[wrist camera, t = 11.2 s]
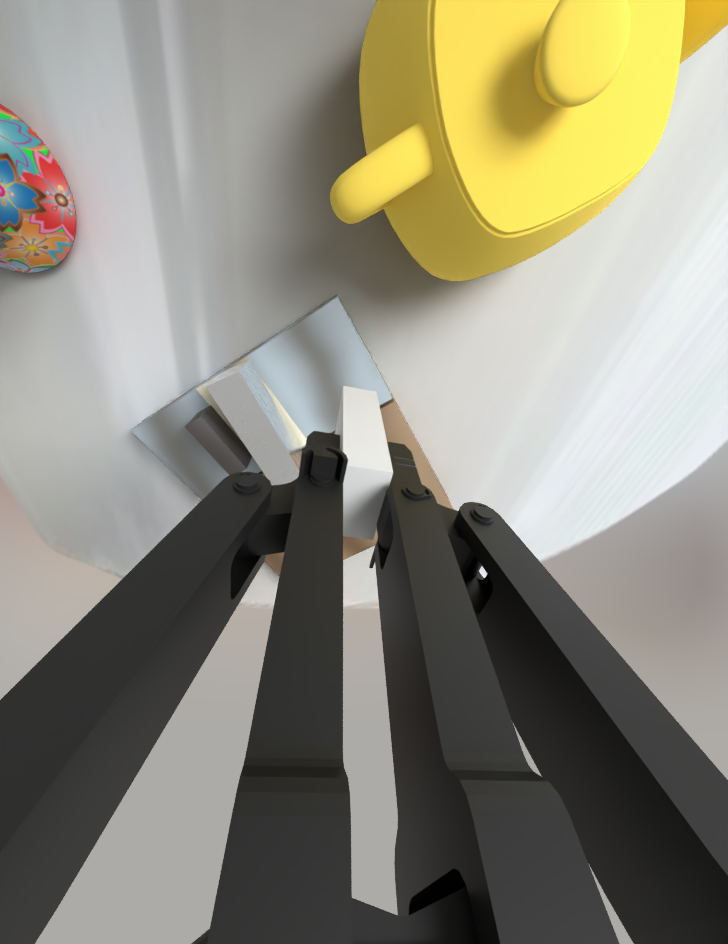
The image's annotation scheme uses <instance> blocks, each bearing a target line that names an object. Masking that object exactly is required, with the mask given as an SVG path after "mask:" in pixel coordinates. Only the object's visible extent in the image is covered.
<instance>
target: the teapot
mask: <svg viewBox="0 0 728 944" xmlns="http://www.w3.org/2000/svg"><path fill="white" fill-rule="evenodd" d="M727 24H728V0H377V2H376V5H375V7H374V10H373V12H372V15H371V17H370V20H369V22H368V25H367V29H366V33H365V37H364V41H363V45H362V51H361V60H360V72H359V93H360V111H361V121H362V130H363V136H364V143H365V149H366V154H367V156H365V157H364V158H362V159H361V160H359V161H358V162H357V163H355V164H354V165H353V166H351V167H350V168H349V169H347V170H346V171H345V172H344V173H342V174H341V175H340V176H339V177H338V179H337V180H336V181H335V183H334V184H333V186H332V189H331V193H330V201H331V205H332V208H333V211H334V212H335V214H336V216H337V217H338V218H339V219H340V220H341V221H343V222H345V223H348V224H354V223H358V222H360V221H362V220H364V219H366V218H368V217H370V216H372V215H374V214H375V213H377V212H379V211H381V210H383V209H384V211H385V213H386V215H387V217H388V219H389V221H390V223H391V225H392V227H393V229H394V231H395V232H396V234H397V235H398V237H399V239H400V240H401V242H402V243H403V245H404V246H405V247H406V249H407V250H408V252H409V253H410V254H411V256H412V257H413V258H414V259H415V260H416V261H417V262H418V263H419V264H420V266H421V267H422V268H424V269H425V270H426V271H427V272H429V273H430V274H431V275H433V276H436V277H438V278H440V279H444V280H449V281H468V280H471V279H475V278H478V277H481V276H485V275H488V274H491V273H494V272H497V271H500V270H503V269H505V268H508V267H511V266H513V265H515V264H517V263H520V262H522V261H524V260H526V259H528V258H531V257H533V256H535V255H537V254H538V253H540V252H542V251H544V250H546V249H547V248H549V247H551V246H553V245H554V244H556V243H557V242H559V241H560V240H562V239H563V238H565V237H567V236H568V235H570V234H571V233H573V232H574V231H576V230H577V229H579V228H580V227H581V226H583V225H584V224H586V223H587V222H588V221H590V220H591V219H593V218H594V217H595V216H597V215H598V214H599V213H601V212H602V211H603V210H604V209H605V208H606V207H607V206H608V205H609V204H610V203H611V202H612V201H613V200H614V199H615V198H616V197H617V196H618V195H619V194H620V193H621V192H622V191H623V190H624V189H625V188H626V187H627V186H628V185H629V184H630V183H631V182H632V181H633V179H634V178H635V177H636V176H637V175H638V173H639V172H640V171H641V169H642V168H643V166H644V165H645V164H646V162H647V161H648V160H649V158H650V157H651V155H652V154H653V152H654V150H655V148H656V147H657V145H658V143H659V141H660V139H661V136H662V134H663V131H664V129H665V126H666V124H667V120H668V117H669V113H670V109H671V106H672V102H673V97H674V92H675V87H676V82H677V77H678V70H679V64H680V63H681V62H683V61H684V60H685V59H687V58H688V57H690V56H691V55H692V54H693V53H694V52H696V51H697V50H698V49H699V48H701V47H702V46H703V45H704V44H706V43H707V42H708V41H709V40H710V39H711V38H712V37H714V36H715V35H716V34H717V33H718V32H719V31H721V30H722V29H723V28H724V27H725V26H726V25H727Z"/></svg>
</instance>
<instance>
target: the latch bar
mask: <svg viewBox="0 0 728 944" xmlns="http://www.w3.org/2000/svg"><path fill="white" fill-rule="evenodd" d="M206 388H207V390H208V391H209V393H210V394H211V396H212V397H213V399H214V400H215V402H216V403H217V405H218V406H219V407H220V409H221V410H222V412H223V413H224V415H225V416H226V418H227V419H228V421H229V422H230V424H231V425H232V427H233V428H234V430H235V431H236V433H237V434H238V436H239V437H240V439H241V440H242V442H243V443H244V445H245V446H246V448H247V449H248V451H249V452H250V454H251V455H252V457H253V458H254V460H255V461H256V462H257V464H258V465H259V467H260V468H261V470H262V471H263V473H264V474H265V476H266V477H267V479H268V480H270V482H271V485H281V484H286V483H289V482H292V481H294V480H295V479H297V478H298V476H299V469H300V462H301V454H302V449H301V448H300V446H299V444H298V443H297V441H296V439H295V437H294V436H293V434H292V432H291V430H290V429H289V427H288V425H287V424H286V422H285V420H284V418H283V417H282V415H281V413H280V411H279V410H278V408H277V406H276V405H275V403H274V401H273V399H272V398H271V396H270V394H269V392H268V391H267V389H266V387H265V386H264V384H263V382H262V380H261V379H260V377H259V375H258V373H257V372H256V370H255V368H254V367H253V365H252V363H251V361H250V360H247V361H245V362H243V363H241V364H239V365H236V366H234V367H232V368H230V369H228V370H226V371H223V372H221V373H219V374H218V375H217V376H216V377H215V378H214V379H213V380H212V381H211V382H210V383H209V384H208V385H207V386H206Z"/></svg>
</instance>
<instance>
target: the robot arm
mask: <svg viewBox="0 0 728 944" xmlns="http://www.w3.org/2000/svg"><path fill="white" fill-rule="evenodd" d="M376 529H377V534H378V539H377V542H376V546H375V549H374V552H373V555H372V559H371V562H370V567H369V568H373V565H374V563H375V564H376V575H377V586H378V597H379V608H380V619H381V630H382V641H383V653H384V663H385V674H386V686H387V697H388V706H389V707H388V708H389V719H390V730H391V741H392V752H393V763H394V774H395V786H396V796H397V807H398V830H397V838H396V845H395V883H396V895H397V908H398V915H394V914H392V913H389V912H387V911H384V910H382V909H379V908H377V907H374V906H371V905H369V904H366V903H364V902H361V901H358V900H356V899H353V898H352V896H351V816H350V815H351V813H350V792H349V785H348V777H347V775H346V772H345V769H344V764H343V536H345V537H353V538H361V539H370V540H373V539H374V536H375V532H376ZM282 552H284V556H283V562H282V567H281V572H280V578H279V583H278V588H277V593H276V599H275V604H274V609H273V615H272V620H271V625H270V630H269V636H268V641H267V646H266V652H265V657H264V663H263V667H262V673H261V679H260V683H259V688H258V694H257V699H256V704H255V710H254V715H253V720H252V726H251V731H250V736H249V742H248V747H247V752H246V757H245V761H244V766H243V769H242V772H241V776H240V780H239V784H238V788H237V793H236V798H235V803H234V808H233V813H232V818H231V823H230V828H229V834H228V839H227V844H226V849H225V854H224V859H223V864H222V870H221V875H220V880H219V885H218V890H217V895H216V900H215V905H214V911H213V916H212V921H211V926H210V929H209V930H208V931H206V932H205V933H204V934H203V935H202V936H201V937H199V938H198V939H197V940H195V941H194V942H193V943H192V944H619V942H618V939H617V937H616V934H615V931H614V929H613V926H612V924H611V921H610V919H609V916H608V913H607V911H606V908H605V906H604V903H603V901H602V898H601V895H600V893H599V890H598V888H597V885H596V883H595V880H594V877H593V875H592V873H591V869H592V870H593V872H594V874H595V876H596V878H597V880H598V882H599V884H600V885H601V887H602V889H603V891H604V893H605V895H606V896H607V898H608V900H609V902H610V903H611V905H612V907H613V908H614V910H615V912H616V914H617V915H618V917H619V919H620V921H621V922H622V924H623V926H624V927H625V929H626V931H627V933H628V935H629V936H630V938H631V939H632V941H633V943H634V944H728V780H727V779H726V778H725V777H724V775H723V774H722V773H721V772H720V771H719V770H718V769H717V767H716V766H715V765H714V764H713V763H712V762H711V760H710V759H709V758H708V757H707V756H706V755H705V753H704V752H703V751H702V750H701V749H700V748H699V746H698V745H697V744H696V743H695V742H694V741H693V740H692V738H691V737H690V736H689V735H688V734H687V733H686V732H685V730H684V729H683V728H682V727H681V726H680V725H679V723H678V722H677V721H676V720H675V719H674V717H673V716H672V715H671V714H670V713H669V712H668V710H667V709H666V708H665V707H664V706H663V705H662V703H661V702H660V701H659V700H658V699H657V698H656V696H655V695H654V694H653V693H652V692H651V691H650V690H649V688H648V687H647V686H646V685H645V684H644V683H643V681H642V680H641V679H640V678H639V677H638V676H637V674H636V673H635V672H634V671H633V670H632V669H631V667H630V666H629V665H628V664H627V663H626V662H625V660H624V659H623V658H622V657H621V656H620V655H619V653H617V651H616V650H615V649H614V648H613V647H612V645H611V644H610V643H609V642H608V641H607V640H606V638H605V637H604V636H603V635H602V634H601V633H600V631H599V630H598V629H597V628H596V627H595V626H594V624H592V622H591V621H590V620H589V619H588V618H587V616H586V615H585V614H584V613H583V612H582V610H581V609H580V608H579V607H578V606H577V605H576V603H575V602H574V601H573V600H572V599H571V598H570V597H569V595H568V594H567V593H566V592H565V591H564V590H563V589H562V587H561V586H560V585H559V584H558V583H557V581H556V580H555V579H554V578H553V577H552V576H551V574H550V573H549V572H548V571H547V570H546V569H545V567H543V565H542V564H541V563H540V562H539V561H538V559H537V558H536V557H535V556H534V555H533V554H532V552H531V551H530V550H529V549H528V548H527V547H526V545H525V544H524V543H523V542H522V541H521V540H520V538H519V537H518V536H517V535H516V534H515V533H514V531H513V530H512V529H511V528H510V527H509V526H508V524H507V523H506V522H505V521H504V520H503V519H502V518H501V516H500V515H499V514H498V513H496V512H495V511H494V510H493V509H491V508H489V507H488V506H486V505H484V504H480V503H475V502H468V503H464V504H463V505H462V506H461V507H460V509H459V511H456V510H453V509H450V508H447V507H445V506H442V505H440V504H438V503H437V501H436V499H435V496H434V494H433V493H432V491H431V490H430V489H428V488H427V487H426V486H424V485H422V484H421V481H420V477H419V474H418V471H417V468H416V465H415V461H414V458H413V455H412V452H411V451H410V450H409V449H408V448H407V447H406V446H405V444H399V443H393V442H387V440H386V435H385V430H384V425H383V420H382V415H381V410H380V406H379V401H378V396H377V392H375V391H370V390H364V389H359V388H354V387H348V386H343V391H342V397H341V403H340V408H339V414H338V419H337V425H336V430H335V434H332V433H325V432H319V431H313V432H312V433H311V434H309V435H308V436H307V440H306V446H305V449H304V450H303V451H302V454H301V462H300V469H299V476H298V478H297V479H295V480H294V481H292V482H289V483H286V484H281V485H271V482H270V480H268V479H267V478H266V477H265V476H263V475H261V474H258V473H254V472H237V473H234V474H230V475H229V476H227V477H226V478H224V479H223V480H222V481H221V482H220V483H219V484H218V485H217V486H216V487H215V488H214V489H213V490H212V491H211V492H210V493H209V494H208V495H207V496H206V497H205V498H204V499H203V500H202V501H201V502H200V503H199V504H198V505H197V506H196V507H195V508H194V509H193V510H192V511H191V512H190V513H189V514H188V515H187V516H186V517H185V518H184V519H183V520H182V521H181V522H180V523H179V524H178V525H177V526H176V527H175V528H174V529H173V530H172V531H171V532H170V533H168V534H167V535H166V536H165V537H164V538H163V539H162V540H161V541H160V542H159V543H158V544H157V545H156V546H155V547H154V548H153V549H152V550H151V551H150V552H149V553H148V554H147V555H146V556H145V557H144V558H143V559H142V560H141V561H140V562H139V563H138V564H137V565H136V566H135V567H134V568H133V569H132V570H131V571H130V572H129V573H128V574H127V575H126V576H125V577H124V578H123V579H122V580H121V581H120V582H119V583H118V584H117V585H116V586H115V587H114V588H113V589H112V590H111V591H110V592H109V593H108V594H107V595H106V596H105V597H104V598H103V599H102V600H101V601H100V602H99V603H98V604H97V605H96V606H95V607H94V608H93V609H92V610H91V611H90V612H89V613H88V614H87V615H86V616H85V617H84V618H83V619H82V620H81V621H80V622H79V623H78V624H77V625H76V626H75V627H74V628H73V629H72V630H71V631H70V632H69V633H68V634H67V635H66V636H65V637H64V638H63V639H61V640H60V642H59V643H57V644H56V645H55V647H53V648H52V649H51V650H50V651H49V652H48V654H46V655H45V656H44V657H43V658H42V660H40V661H39V662H38V663H37V665H35V666H34V667H33V668H32V669H31V670H30V671H29V672H28V673H27V674H26V675H25V676H24V677H23V678H22V679H21V680H20V681H19V682H18V683H17V684H16V685H15V686H14V687H13V688H12V689H11V690H10V691H9V692H8V693H7V694H6V695H5V696H4V697H3V698H2V699H1V700H0V944H35V942H36V941H37V939H38V937H39V936H40V934H41V933H42V931H43V930H44V928H45V927H46V925H47V923H48V921H49V920H50V919H51V917H52V916H53V914H54V912H55V911H56V909H57V908H58V906H59V904H60V903H61V901H62V899H63V897H64V896H65V894H66V892H67V891H68V889H69V887H70V886H71V884H72V882H73V881H74V879H75V877H76V876H77V874H78V872H79V871H80V869H81V867H82V866H83V864H84V862H85V861H86V859H87V857H88V855H89V854H90V852H91V850H92V849H93V847H94V846H95V844H96V842H97V840H98V839H99V837H100V835H101V834H102V832H103V830H104V829H105V827H106V825H107V824H108V822H109V820H110V819H111V817H112V815H113V814H114V812H115V810H116V808H117V807H118V805H119V803H120V802H121V800H122V799H123V796H124V795H125V794H126V792H127V790H128V788H129V787H130V785H131V783H132V782H133V780H134V778H135V777H136V775H137V773H138V772H139V770H140V768H141V767H142V765H143V763H144V762H145V760H146V758H147V757H148V755H149V753H150V752H151V750H152V748H153V746H154V745H155V743H156V742H157V740H158V738H159V737H160V735H161V733H162V731H163V730H164V728H165V726H166V725H167V723H168V721H169V720H170V718H171V716H172V715H173V713H174V711H175V709H176V708H177V706H178V705H179V703H180V701H181V700H182V698H183V696H184V694H185V693H186V691H187V689H188V688H189V686H190V684H191V683H192V681H193V679H194V678H195V676H196V674H197V673H198V671H199V669H200V667H201V666H202V664H203V663H204V661H205V659H206V658H207V656H208V654H209V653H210V651H211V649H212V648H213V646H214V644H215V643H216V641H217V639H218V637H219V636H220V634H221V633H222V631H223V629H224V627H225V626H226V624H227V622H228V621H229V619H230V617H231V616H232V614H233V612H234V611H235V609H236V607H237V606H238V604H239V602H240V601H241V599H242V597H243V596H244V594H245V592H246V591H247V589H248V587H249V586H250V584H251V582H252V581H253V579H254V577H255V576H256V574H257V572H258V570H259V569H260V567H261V565H262V564H263V562H264V560H265V557H266V555H269V554H275V553H282ZM481 566H483V568H484V569H485V571H486V572H487V576H486V577H485V578H483V576H482V575H481V574H480V572H479V569H480V568H481ZM512 722H513V723H514V725H515V727H516V729H517V731H518V733H519V735H520V736H521V738H522V740H523V742H524V744H525V746H526V748H527V750H528V751H529V753H530V755H531V757H532V759H533V761H534V763H535V764H536V766H537V768H538V770H539V772H540V774H541V776H542V777H541V776H539V775H538V774H536V773H535V772H533V770H532V769H531V768H530V767H529V765H528V763H527V761H526V759H525V757H524V754H523V752H522V749H521V746H520V743H519V740H518V737H517V734H516V731H515V728H514V725H513V723H512ZM587 861H588V862H587ZM588 863H589V864H588ZM589 865H590V867H591V869H590V867H589Z"/></svg>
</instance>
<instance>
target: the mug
mask: <svg viewBox="0 0 728 944" xmlns="http://www.w3.org/2000/svg"><path fill="white" fill-rule="evenodd" d="M75 232H76V213H75V207H74V202H73V198H72V194H71V191H70V188H69V185H68V183H67V181H66V178H65V176H64V174H63V172H62V170H61V168H60V166H59V165H58V163H57V161H56V160H55V158H54V157H53V155H52V154H51V152H50V151H49V149H48V148H47V147H46V145H45V144H44V143H43V142H42V140H41V139H40V138H39V137H38V136H37V135H36V134H35V132H34V131H33V130H32V129H31V128H30V127H29V126H28V125H27V124H25V123H24V122H23V121H22V120H21V119H20V118H19V117H17V116H16V115H15V114H14V113H12V112H11V111H10V110H8V109H7V108H5V107H4V106H2V105H1V104H0V267H2V268H5V269H8V270H12V271H17V272H26V273H28V272H40V271H44V270H47V269H49V268H52V267H53V266H55V265H57V264H58V263H60V262H61V261H62V260H63V259H64V258H65V257H66V255H67V254H68V253H69V251H70V249H71V247H72V244H73V241H74V238H75Z"/></svg>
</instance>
